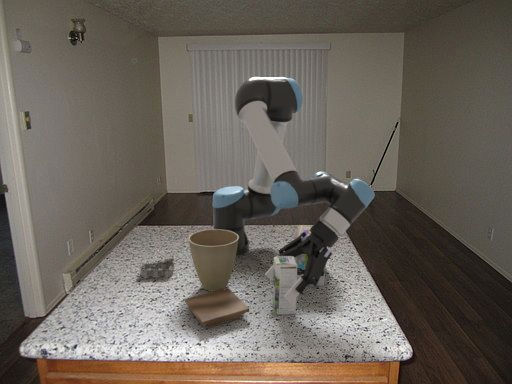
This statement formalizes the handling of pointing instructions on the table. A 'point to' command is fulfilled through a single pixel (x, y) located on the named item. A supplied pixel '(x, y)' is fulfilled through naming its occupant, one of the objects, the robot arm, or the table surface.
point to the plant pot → (213, 256)
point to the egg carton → (162, 268)
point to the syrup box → (284, 284)
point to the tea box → (305, 257)
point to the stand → (216, 307)
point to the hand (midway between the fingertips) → (277, 288)
